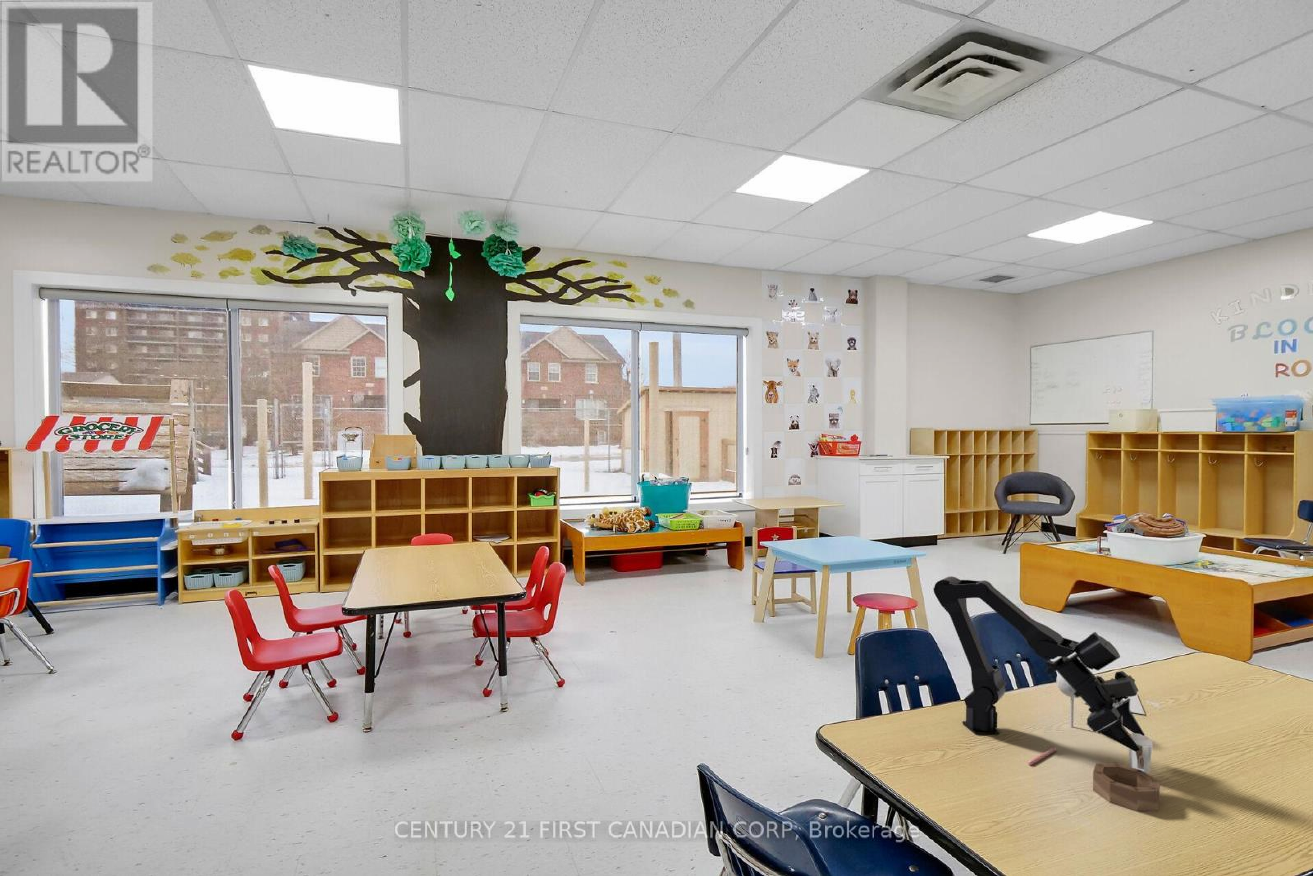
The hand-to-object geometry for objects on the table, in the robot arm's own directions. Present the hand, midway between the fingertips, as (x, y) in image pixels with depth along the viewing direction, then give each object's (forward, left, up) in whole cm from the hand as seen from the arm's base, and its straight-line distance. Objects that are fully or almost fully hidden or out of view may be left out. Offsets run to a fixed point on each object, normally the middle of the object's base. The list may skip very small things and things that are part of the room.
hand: (1140, 743), depth 142 cm
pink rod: (-16, +9, -8) cm, 20 cm away
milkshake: (0, 0, -8) cm, 8 cm away
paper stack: (+29, +34, -8) cm, 45 cm away
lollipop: (+3, +24, -8) cm, 26 cm away
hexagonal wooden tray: (-9, -7, -8) cm, 14 cm away
